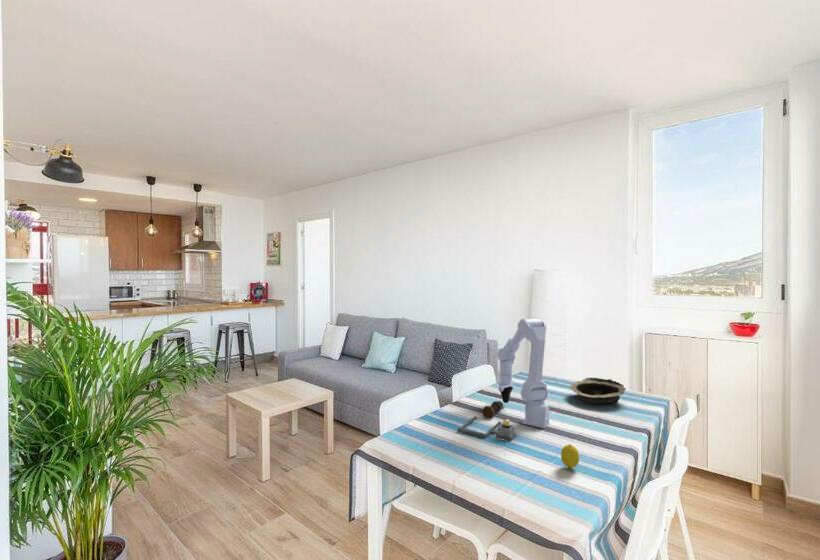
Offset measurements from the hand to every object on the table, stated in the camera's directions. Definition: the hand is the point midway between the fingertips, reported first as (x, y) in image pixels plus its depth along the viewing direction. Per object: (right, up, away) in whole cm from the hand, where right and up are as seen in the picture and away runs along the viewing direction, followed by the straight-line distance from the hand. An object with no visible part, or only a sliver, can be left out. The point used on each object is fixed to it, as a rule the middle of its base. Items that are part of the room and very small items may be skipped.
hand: (505, 402), depth 190 cm
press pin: (-8, +1, -34) cm, 35 cm away
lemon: (+7, -4, -58) cm, 59 cm away
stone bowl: (+46, -2, +7) cm, 47 cm away
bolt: (-7, -3, -9) cm, 12 cm away
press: (-13, -3, -28) cm, 31 cm away
